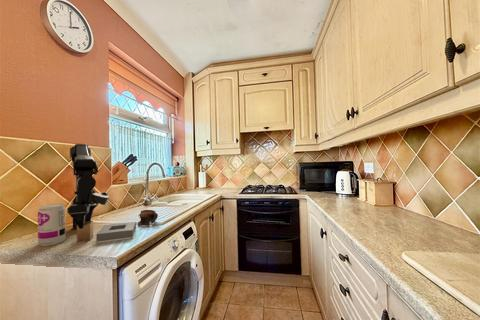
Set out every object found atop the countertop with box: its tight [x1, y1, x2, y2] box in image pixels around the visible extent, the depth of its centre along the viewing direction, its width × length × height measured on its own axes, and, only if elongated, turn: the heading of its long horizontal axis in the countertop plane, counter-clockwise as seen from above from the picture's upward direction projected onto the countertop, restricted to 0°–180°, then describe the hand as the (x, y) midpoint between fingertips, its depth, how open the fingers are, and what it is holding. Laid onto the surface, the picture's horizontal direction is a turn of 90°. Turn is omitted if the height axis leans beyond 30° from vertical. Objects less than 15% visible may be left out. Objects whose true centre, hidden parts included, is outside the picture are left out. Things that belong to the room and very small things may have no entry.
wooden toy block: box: [76, 220, 94, 243], centre depth 88 cm, size 4×4×7 cm
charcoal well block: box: [95, 221, 137, 244], centre depth 92 cm, size 13×13×4 cm
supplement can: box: [37, 203, 67, 247], centre depth 85 cm, size 8×8×15 cm
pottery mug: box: [137, 209, 159, 227], centre depth 109 cm, size 12×10×8 cm
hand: (85, 225), depth 88 cm, fingers open, 9 cm apart
